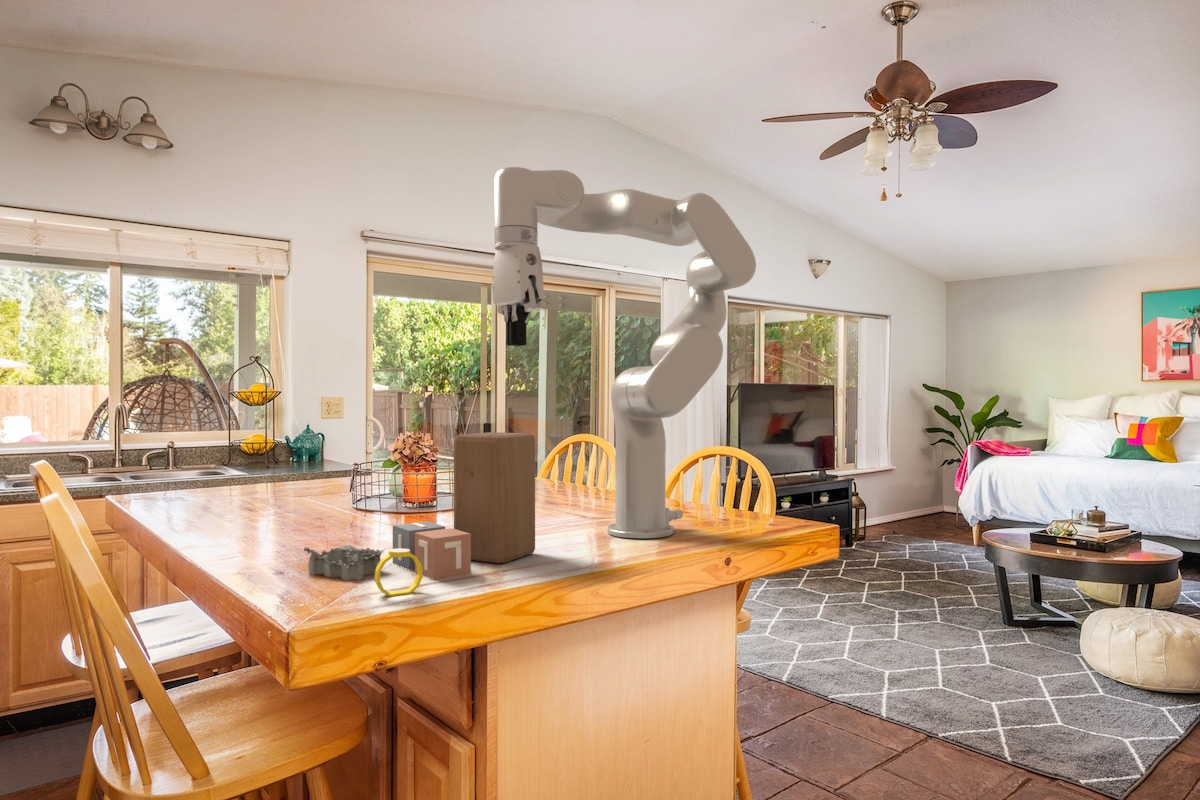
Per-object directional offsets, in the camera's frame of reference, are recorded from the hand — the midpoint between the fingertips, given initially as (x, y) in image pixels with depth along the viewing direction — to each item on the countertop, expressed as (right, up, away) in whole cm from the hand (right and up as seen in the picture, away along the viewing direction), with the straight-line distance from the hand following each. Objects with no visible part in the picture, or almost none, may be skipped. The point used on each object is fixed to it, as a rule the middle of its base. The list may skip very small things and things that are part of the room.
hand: (516, 345), depth 132 cm
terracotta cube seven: (-9, -35, -21) cm, 42 cm away
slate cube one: (-14, -35, -15) cm, 41 cm away
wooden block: (-2, -35, -10) cm, 37 cm away
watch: (-12, -36, -33) cm, 50 cm away
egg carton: (-23, -36, -20) cm, 47 cm away
